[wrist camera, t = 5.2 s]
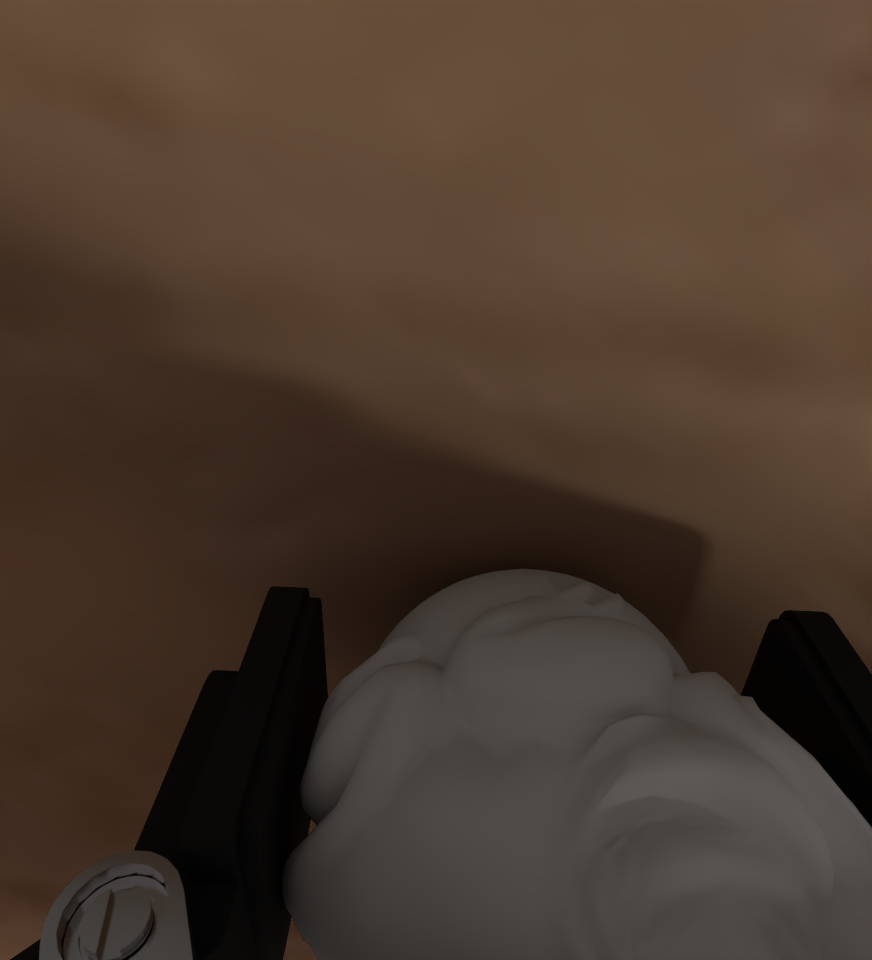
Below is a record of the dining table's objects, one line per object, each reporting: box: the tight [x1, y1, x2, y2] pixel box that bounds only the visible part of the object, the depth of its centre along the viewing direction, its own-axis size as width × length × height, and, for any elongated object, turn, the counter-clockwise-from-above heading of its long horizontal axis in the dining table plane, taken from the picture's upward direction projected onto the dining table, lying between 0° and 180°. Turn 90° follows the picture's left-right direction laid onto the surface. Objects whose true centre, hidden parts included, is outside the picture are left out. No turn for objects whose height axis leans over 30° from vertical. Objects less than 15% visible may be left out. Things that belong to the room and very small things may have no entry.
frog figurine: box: [282, 569, 872, 960], centre depth 9 cm, size 6×7×7 cm
